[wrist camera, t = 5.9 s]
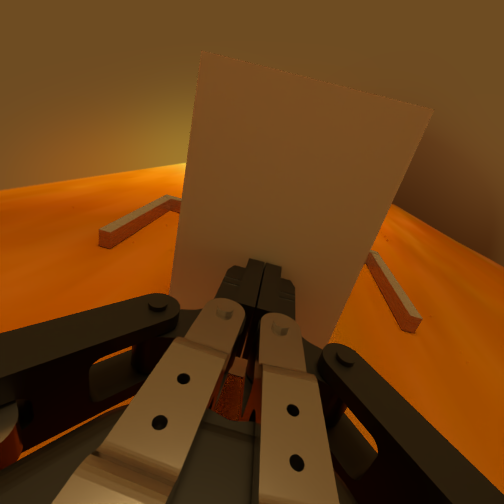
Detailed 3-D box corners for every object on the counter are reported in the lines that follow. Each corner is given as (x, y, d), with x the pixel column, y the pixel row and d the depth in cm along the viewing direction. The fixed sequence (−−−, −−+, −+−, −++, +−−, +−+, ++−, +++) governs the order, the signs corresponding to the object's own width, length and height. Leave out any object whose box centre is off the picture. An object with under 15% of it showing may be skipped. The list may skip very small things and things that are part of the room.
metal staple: (372, 262, 35) (377, 251, 35) (413, 333, 23) (422, 318, 22) (165, 205, 36) (166, 194, 35) (98, 245, 24) (98, 229, 23)
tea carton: (301, 308, 22) (373, 118, 17) (304, 395, 15) (434, 109, 9) (204, 281, 23) (241, 84, 17) (161, 353, 15) (201, 50, 10)
